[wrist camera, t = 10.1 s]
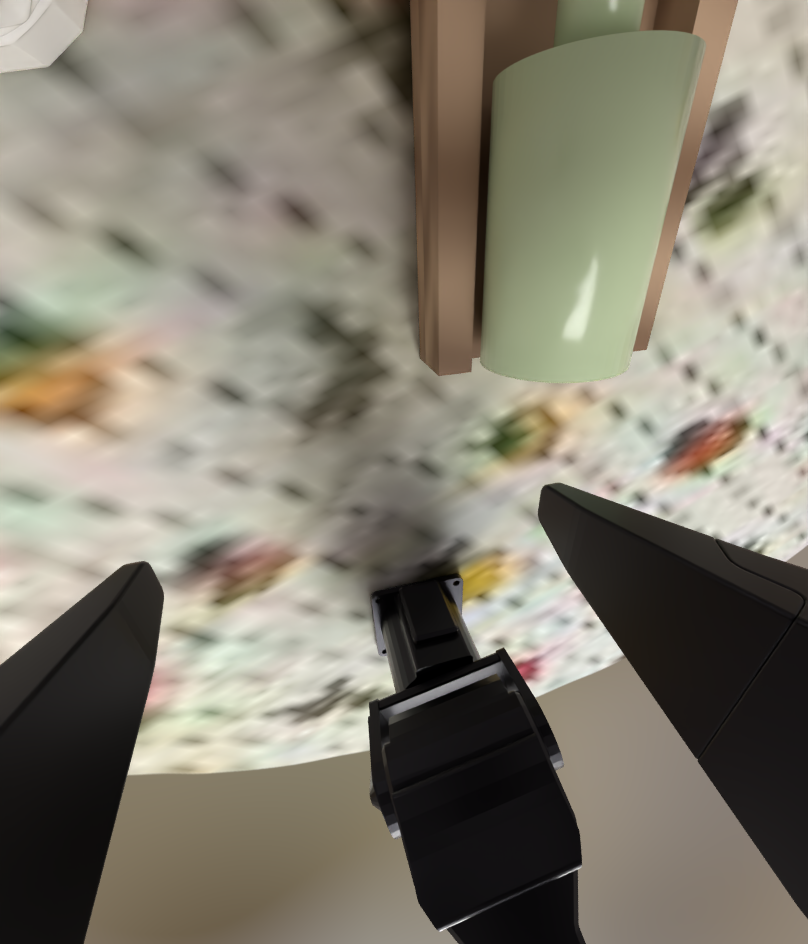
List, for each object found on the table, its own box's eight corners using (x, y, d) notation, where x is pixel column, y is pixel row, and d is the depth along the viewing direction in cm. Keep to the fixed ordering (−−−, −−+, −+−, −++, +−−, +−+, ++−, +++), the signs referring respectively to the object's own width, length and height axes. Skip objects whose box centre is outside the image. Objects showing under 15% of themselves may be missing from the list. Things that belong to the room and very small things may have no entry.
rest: (605, 336, 22) (646, 349, 19) (420, 358, 20) (438, 375, 17) (678, -19, 15) (756, -71, 12) (409, -38, 13) (437, -103, 11)
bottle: (587, 339, 20) (662, 376, 15) (467, 347, 20) (501, 388, 14) (663, -83, 13) (855, -293, 8) (479, -75, 13) (552, -286, 8)
